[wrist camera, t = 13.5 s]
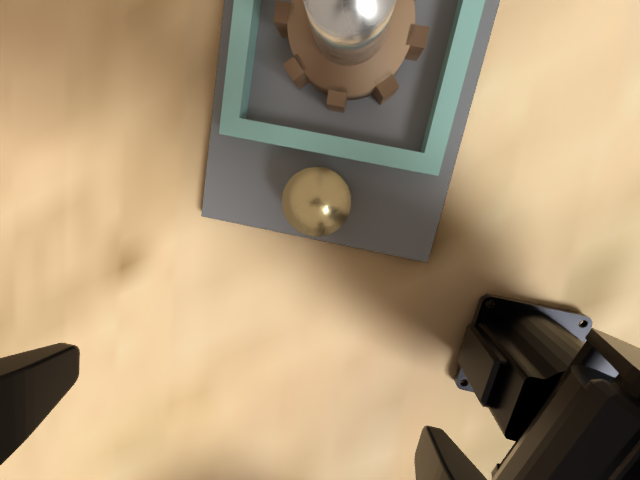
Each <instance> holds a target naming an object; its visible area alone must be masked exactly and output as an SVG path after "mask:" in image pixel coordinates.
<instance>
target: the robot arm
mask: <svg viewBox="0 0 640 480" xmlns="http://www.w3.org/2000/svg"><path fill="white" fill-rule="evenodd" d="M488 301H492V303H491V305H489V306H486V303H487V302H488ZM582 320H583V323H582V324H580V325H579V322H580V321H582ZM591 327H592V320H591V319H590V318H589V317H588V316H586V315H584V314H582V313H577V312H573V311H568V310H563V309H558V308H553V307H549V306H544V305H539V304H534V303H529V302H525V301H520V300H515V299H510V298H505V297H501V296H496V295H491V294H486V295H483V296H482V297H481V298H480V300H479V303H478V306H477V309H476V313H475V316H474V319H473V322H472V324H470V325H469V326H468V327H467V330H466V333H465V336H464V339H463V343H462V346H461V349H460V352H459V355H458V358H457V361H458V363H459V365H458V368H457V371H456V375H455V378H454V380H455V383H456V385H457V387H458V388H459V389H462V390H466V391H471V392H474V393H475V394H476V396H477V398H478V400H479V402H480V403H481V405H482V406H483V407H487V408H489V409H490V411H491V413H492V415H493V416H494V418H495V420H496V422H497V423H498V425H499V427H500V429H501V431H502V432H503V434H504V436H505V437H506V438H507V439H509V440H513V441H516V442H515V444H514V445H513V446H512V448H511V449H510V451H509V452H508V454H507V455H506V456H505V458H504V459H503V461H502V462H501V464H497V465H496V466H495V468H494V469H493V471H492V480H640V348H638V347H635V346H633V345H631V344H628V343H626V342H624V341H621V340H619V339H617V338H615V337H612V336H610V335H608V334H605V333H603V332H601V331H598V330H596V329H594V328H591ZM590 329H591V330H590ZM586 340H587V341H586ZM585 341H586V342H585ZM79 356H80V351H79V348H78V347H77V346H75V345H71V344H67V343H58V344H54V345H50V346H46V347H42V348H38V349H34V350H30V351H27V352H23V353H19V354H15V355H11V356H7V357H3V358H0V465H1V464H2V463H3V462H4V461H5V460H6V459H7V458H8V457H9V456H10V455H11V454H12V453H13V452H14V451H15V450H16V449H17V448H18V447H19V446H20V445H21V444H22V443H23V442H24V441H25V440H26V439H27V438H28V437H29V436H30V435H31V434H32V432H33V431H34V430H35V429H36V428H37V427H38V426H39V424H40V423H41V422H42V421H43V420H44V419H45V417H46V416H47V415H48V414H49V413H50V412H51V410H52V409H53V408H54V407H55V406H56V405H57V404H58V402H59V401H60V400H61V399H62V398H63V397H64V395H65V394H66V393H67V392H68V391H69V390H70V388H71V387H72V386H73V385H74V384H75V382H76V380H77V378H78V376H79ZM463 379H466V381H465V382H461V380H463ZM415 473H416V480H487V479H486V478H485V477H484V476H483V474H482V473H481V472H480V471H479V470H478V469H477V468H476V467H475V465H474V464H473V463H472V462H471V461H470V460H469V459H468V458H467V457H466V455H465V454H464V453H463V452H462V451H461V450H460V449H459V448H458V446H457V445H456V444H455V443H454V442H453V441H452V440H451V439H450V438H449V436H448V435H447V434H446V433H445V432H444V431H443V430H442V429H440V428H436V427H431V426H425V427H424V428H423V430H422V433H421V436H420V439H419V442H418V446H417V449H416V452H415Z"/></svg>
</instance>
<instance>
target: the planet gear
mask: <svg viewBox="0 0 640 480" xmlns="http://www.w3.org/2000/svg"><path fill="white" fill-rule="evenodd" d="M415 1H416V0H291V3H289V2H283V1H277V0H276V6H275V13H274V20H273V22H274V23H275V25H276V27H277V29H278V31H279V33H280V35H281V37H284V38H289V43H290V47H291V50H292V53H293V55H294V56H293V57H292V58H291V59H289V60H288V61H287V62H286V63H284V64H283V66H284V68H285V69H286V71H287V73H288V74H289V76H290V77H291V79H292V80H293V82H294V83H295V85H296V86H297V88H298V89H299V90H300V89H301V88H303V87H304V86H305V85H306V84H308V83H310V84H311V85H312V86H313V87H315V88H316V89H317V90H318V91H320V92H321V93H323V94H325V95H327V101H326V105H327V107H328V110H329V111H335V112H340V113H345V109H346V104H347V100H357V99H362V98H365V97H368V96H370V95H372V94H373V95H374V96H375V98H376V99H377V101H378V103H379V104H380V105H381V104H382V103H384V102H385V101H387V100H388V99H389V98H391V97H392V96H394V95H395V93H396V91H397V90H398V88H399V85H398V83H397V81H396V80H395V78H394V76H395V74H396V73H397V71H398V70H399V68H400V66H401V64H402V62H403V60H404V59H407V60H412V61H417V60H418V58H419V57H420V55H421V53H422V52H423V50H424V48H425V45H426V41H427V36H428V32H429V28H430V27H427V26H421V25H416V24H415V6H414V2H415Z"/></svg>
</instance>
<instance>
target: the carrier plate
mask: <svg viewBox="0 0 640 480" xmlns="http://www.w3.org/2000/svg"><path fill="white" fill-rule="evenodd" d="M277 1H283V2H289V3H291V0H277ZM499 2H500V0H416V1H415V2H414V6H415V24H416V25H421V26H427V27H430V28H429V32H428V36H427V41H426V45H425V48H424V50H423V52H422V53H421V55H420V57H419V58H418V60H417V61H412V60H407V59H404V60H403V62H402V64H401V66H400V68H399V70H398V71H397V73H396V74H395V76H394V78H395V80H396V81H397V83H398V85H399V88H398V90H397V91H396V93H395V95H394V96H392V97H391V98H389V99H388V100H387V101H385V102H384V103H382V104H381V105H380V104H379V103H378V101H377V99H376V98H375V96H374V95H373V94H372V95H370V96H368V97H365V98H362V99H357V100H347V104H346V109H345V113H340V112H335V111H329V110H328V107H327V105H326V101H327V95H325V94H323V93H321V92H320V91H318V90H317V89H316V88H315V87H313V86H312V85H311V84H310V83H308V84H306V85H305V86H304V87H303V88H301V89H300V90H299V89H298V88H297V86H296V85H295V83H294V82H293V80H292V79H291V77H290V76H289V74H288V73H287V71H286V69H285V68H284V66H283V64H284V63H286V62H287V61H288V60H289V59H291V58H292V57H293V56H294V55H293V53H292V50H291V47H290V43H289V38H284V37H281V35H280V33H279V31H278V29H277V27H276V25H275V23H274V22H273V20H274V13H275V6H276V0H224V9H223V18H222V28H221V37H220V46H219V56H218V65H217V75H216V84H215V93H214V103H213V112H212V122H211V131H210V140H209V150H208V159H207V168H206V178H205V187H204V197H203V206H202V215H201V216H203V217H208V218H213V219H218V220H222V221H227V222H232V223H237V224H242V225H247V226H252V227H257V228H261V229H266V230H271V231H276V232H281V233H286V234H291V235H295V236H300V237H305V238H310V239H315V240H320V241H325V242H330V243H334V244H339V245H344V246H349V247H354V248H359V249H364V250H368V251H373V252H378V253H383V254H388V255H393V256H398V257H403V258H407V259H412V260H417V261H422V262H427V263H428V259H429V256H430V252H431V249H432V245H433V241H434V238H435V234H436V230H437V227H438V223H439V220H440V216H441V212H442V209H443V205H444V201H445V198H446V194H447V191H448V187H449V183H450V180H451V176H452V172H453V169H454V165H455V161H456V158H457V154H458V151H459V147H460V143H461V140H462V136H463V132H464V129H465V125H466V122H467V118H468V114H469V111H470V107H471V103H472V100H473V96H474V93H475V89H476V85H477V82H478V78H479V74H480V71H481V67H482V64H483V60H484V56H485V53H486V49H487V45H488V42H489V38H490V35H491V31H492V27H493V24H494V20H495V16H496V13H497V9H498V6H499Z"/></svg>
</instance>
